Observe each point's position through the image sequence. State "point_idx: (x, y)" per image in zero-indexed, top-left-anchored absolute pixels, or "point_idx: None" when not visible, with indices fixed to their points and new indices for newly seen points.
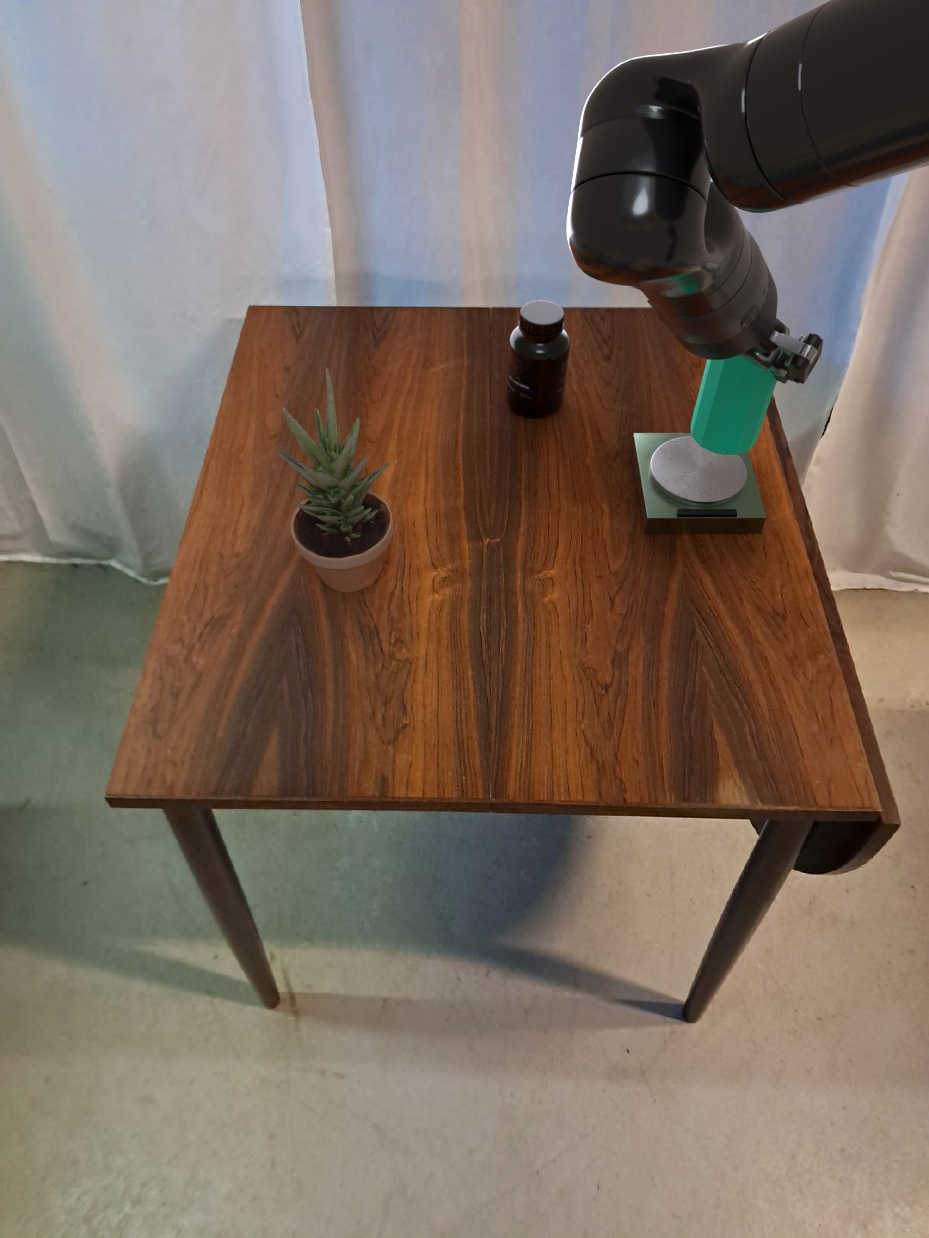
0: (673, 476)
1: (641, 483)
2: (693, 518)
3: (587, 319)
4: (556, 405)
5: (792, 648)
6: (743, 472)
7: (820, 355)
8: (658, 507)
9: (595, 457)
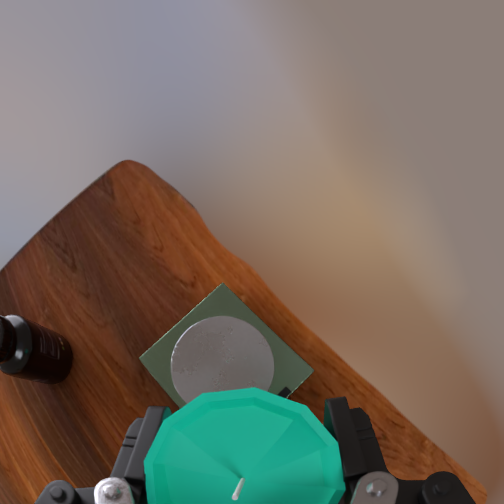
0: None
1: None
2: None
3: (45, 239)
4: (67, 361)
5: (406, 455)
6: (260, 338)
7: (461, 485)
8: None
9: (129, 391)
